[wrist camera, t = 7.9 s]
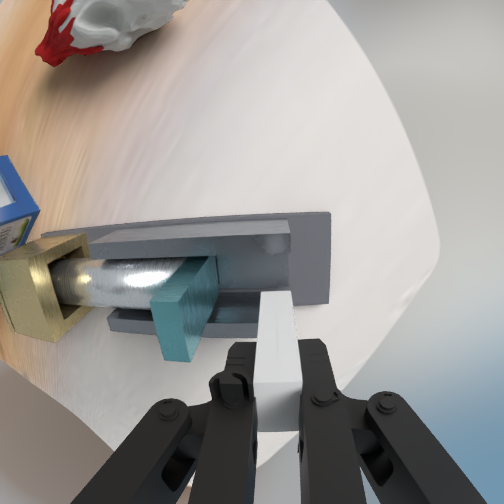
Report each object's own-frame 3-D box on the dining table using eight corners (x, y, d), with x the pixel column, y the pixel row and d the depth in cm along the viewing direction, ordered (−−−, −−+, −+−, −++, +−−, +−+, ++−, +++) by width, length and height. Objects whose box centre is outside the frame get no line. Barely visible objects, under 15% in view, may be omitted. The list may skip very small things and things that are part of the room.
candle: (210, 15, 17) (84, 106, 21) (169, -43, 14) (63, 39, 19) (163, -35, 8) (15, 105, 13) (125, -84, 6) (7, 28, 10)
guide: (56, 298, 25) (12, 332, 18) (41, 236, 23) (-12, 260, 16) (288, 303, 23) (293, 365, 15) (286, 217, 21) (294, 247, 13)
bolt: (70, 292, 23) (15, 334, 15) (60, 253, 22) (-2, 288, 14) (219, 295, 22) (191, 365, 14) (214, 246, 21) (177, 298, 12)
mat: (62, 296, 26) (57, 300, 25) (46, 232, 24) (40, 234, 23) (326, 298, 24) (328, 303, 23) (328, 211, 22) (331, 213, 21)
